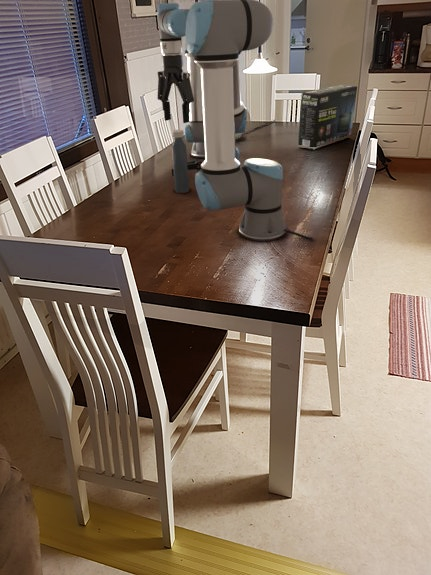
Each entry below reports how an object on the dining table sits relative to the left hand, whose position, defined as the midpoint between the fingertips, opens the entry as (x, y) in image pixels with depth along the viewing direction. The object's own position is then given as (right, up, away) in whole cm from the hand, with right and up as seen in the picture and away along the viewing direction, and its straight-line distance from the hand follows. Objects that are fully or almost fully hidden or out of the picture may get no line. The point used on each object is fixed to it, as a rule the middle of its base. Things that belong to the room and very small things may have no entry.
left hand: (185, 174), depth 185 cm
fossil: (+20, +40, +77) cm, 89 cm away
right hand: (-3, +18, -12) cm, 21 cm away
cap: (-2, +14, -10) cm, 17 cm away
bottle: (-2, -6, +3) cm, 7 cm away
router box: (+71, +32, +60) cm, 98 cm away
